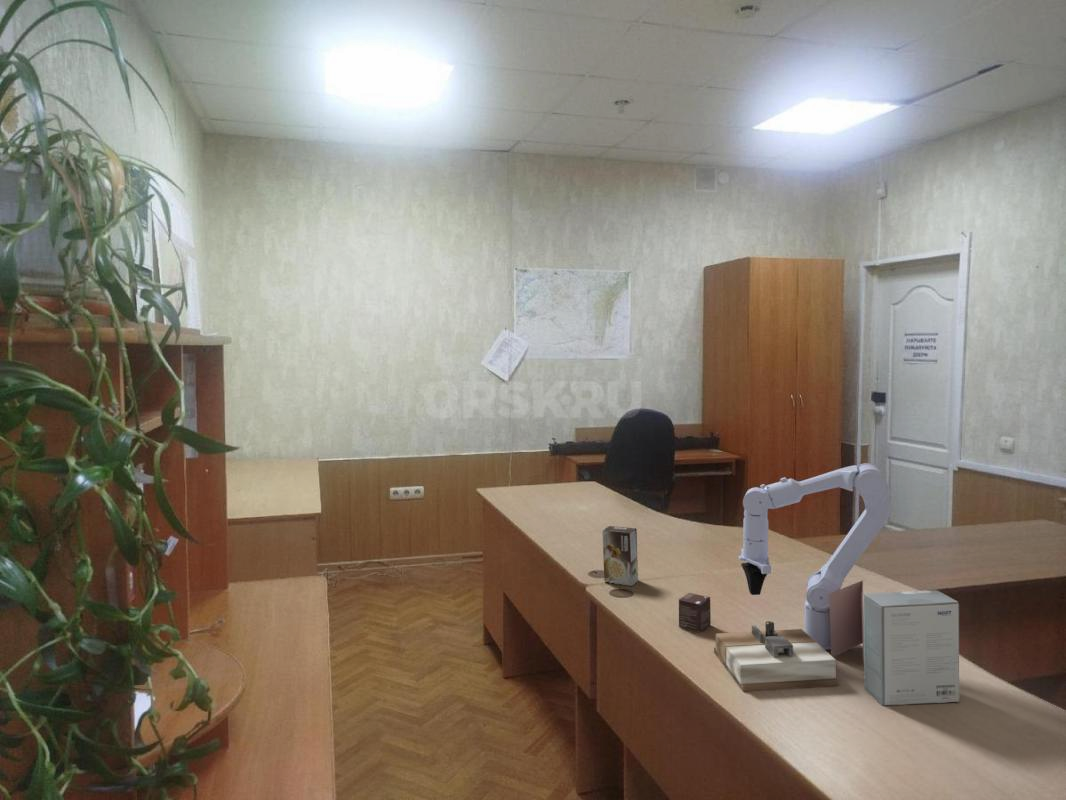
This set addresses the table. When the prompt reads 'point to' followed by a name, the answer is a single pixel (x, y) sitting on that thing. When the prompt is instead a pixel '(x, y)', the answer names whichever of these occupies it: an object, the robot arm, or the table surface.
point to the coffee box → (620, 555)
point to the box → (694, 612)
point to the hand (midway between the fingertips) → (754, 593)
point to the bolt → (771, 632)
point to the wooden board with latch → (775, 660)
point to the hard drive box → (911, 647)
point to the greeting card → (846, 618)
